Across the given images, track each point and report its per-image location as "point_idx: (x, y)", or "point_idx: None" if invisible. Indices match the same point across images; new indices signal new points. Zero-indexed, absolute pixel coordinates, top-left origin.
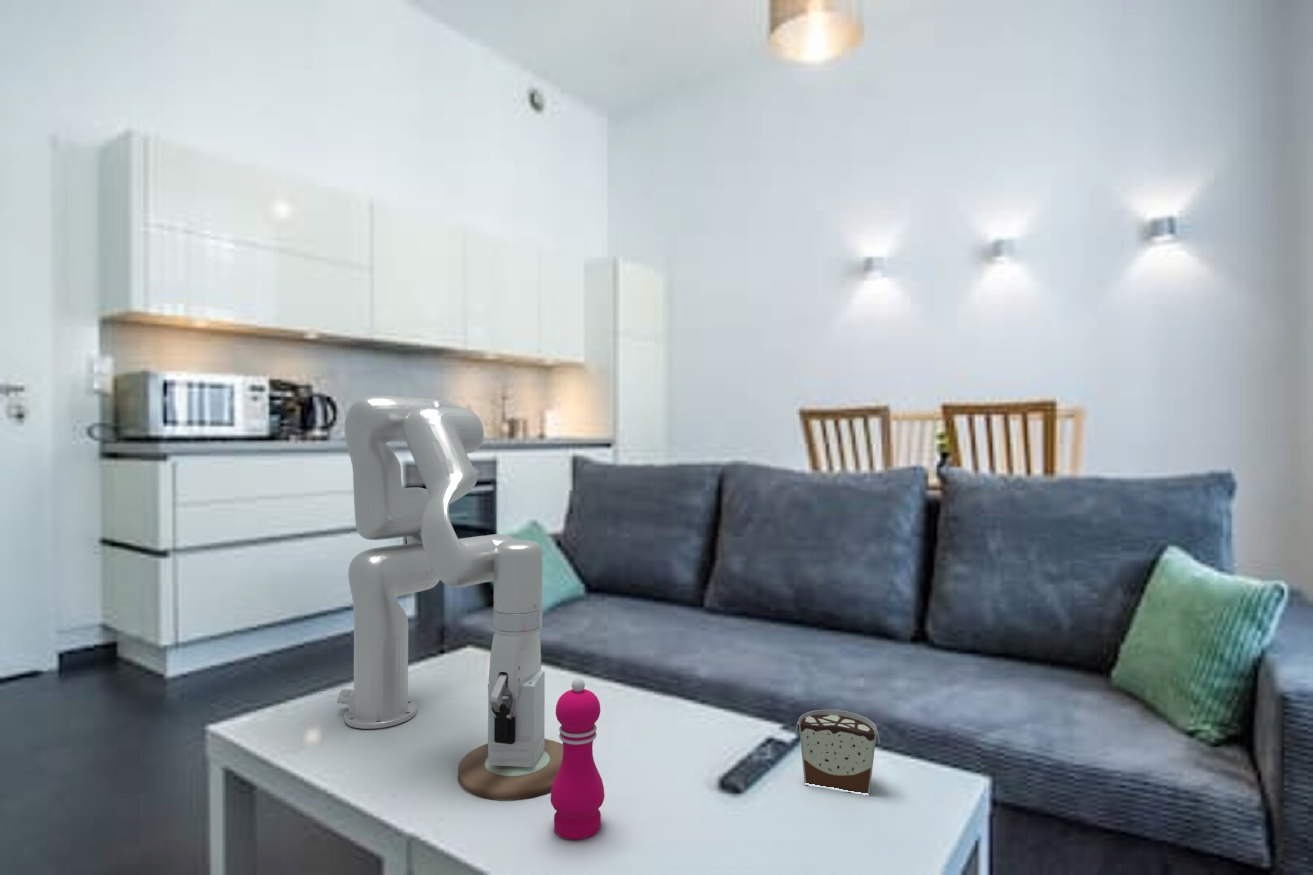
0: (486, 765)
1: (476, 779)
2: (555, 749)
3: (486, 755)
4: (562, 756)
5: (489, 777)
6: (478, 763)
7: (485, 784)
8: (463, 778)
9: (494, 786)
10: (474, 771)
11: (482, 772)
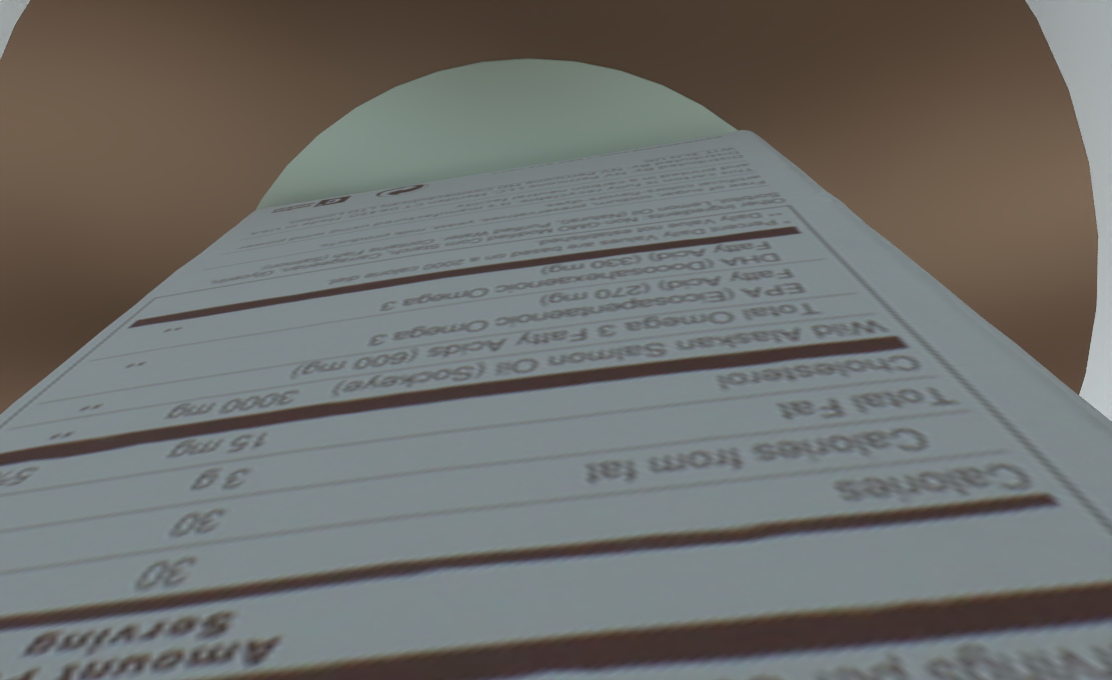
0: (333, 141)
1: (61, 172)
2: None
3: (581, 5)
4: None
5: (154, 271)
6: (376, 13)
7: (20, 300)
8: (18, 27)
9: (27, 391)
10: (202, 62)
11: (210, 160)
